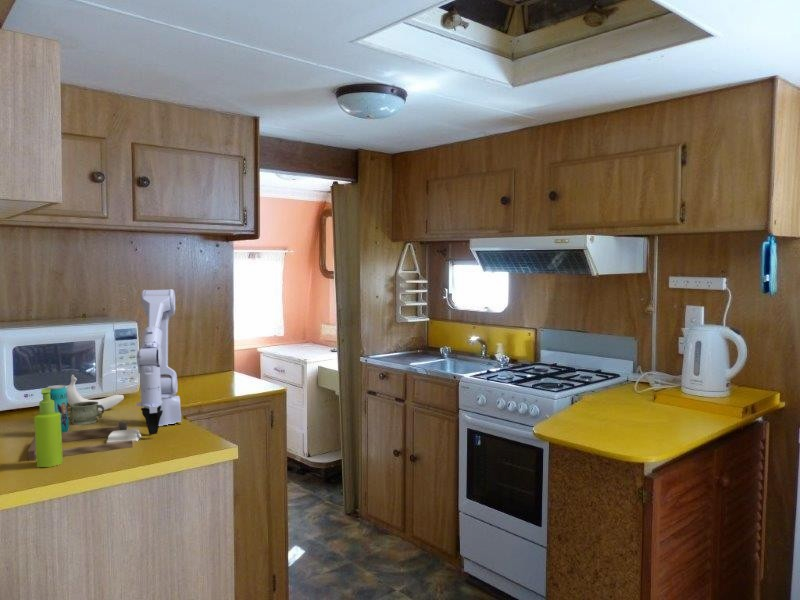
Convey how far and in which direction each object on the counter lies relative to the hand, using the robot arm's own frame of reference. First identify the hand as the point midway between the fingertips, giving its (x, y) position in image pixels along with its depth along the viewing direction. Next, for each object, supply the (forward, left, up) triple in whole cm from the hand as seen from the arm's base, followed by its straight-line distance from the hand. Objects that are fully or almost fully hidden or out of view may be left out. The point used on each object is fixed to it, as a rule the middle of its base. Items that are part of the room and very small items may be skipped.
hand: (152, 432), depth 186 cm
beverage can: (+26, -19, -2) cm, 32 cm away
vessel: (+19, -33, -2) cm, 38 cm away
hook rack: (+19, 0, -1) cm, 19 cm away
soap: (+8, -1, -2) cm, 8 cm away
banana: (+16, -48, -2) cm, 51 cm away
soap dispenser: (+26, +16, -2) cm, 31 cm away
